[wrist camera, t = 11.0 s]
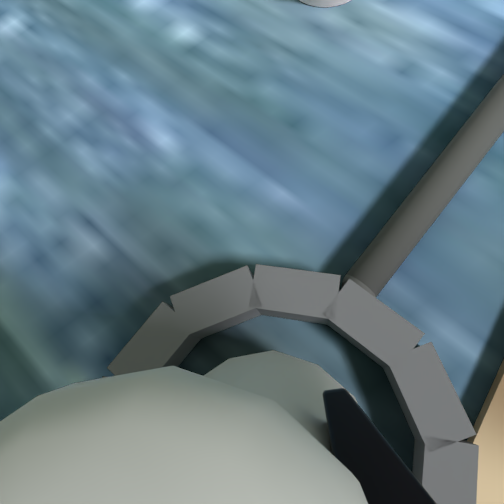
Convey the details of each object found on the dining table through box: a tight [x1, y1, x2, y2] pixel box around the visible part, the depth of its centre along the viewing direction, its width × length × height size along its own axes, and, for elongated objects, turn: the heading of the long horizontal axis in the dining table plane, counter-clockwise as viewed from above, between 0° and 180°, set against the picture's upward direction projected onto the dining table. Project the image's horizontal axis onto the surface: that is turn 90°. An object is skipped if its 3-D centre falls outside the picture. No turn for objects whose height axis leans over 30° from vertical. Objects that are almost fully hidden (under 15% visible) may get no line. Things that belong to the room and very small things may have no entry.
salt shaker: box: [0, 350, 368, 504], centre depth 9 cm, size 6×6×13 cm
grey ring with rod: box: [102, 74, 504, 504], centre depth 15 cm, size 25×11×2 cm, turn 140°
